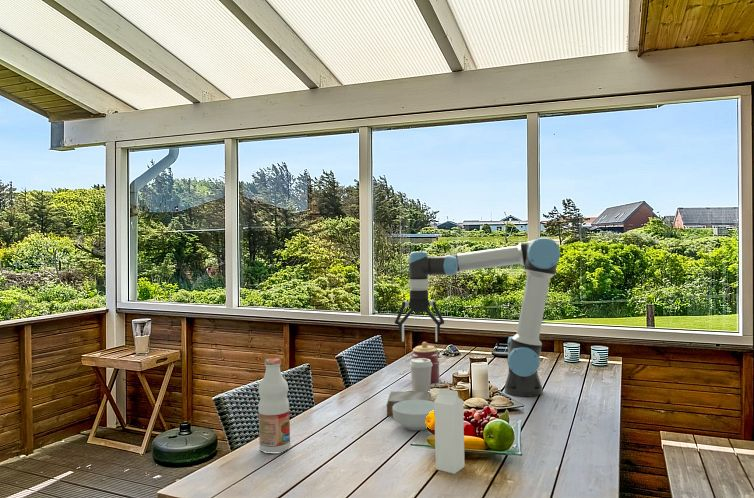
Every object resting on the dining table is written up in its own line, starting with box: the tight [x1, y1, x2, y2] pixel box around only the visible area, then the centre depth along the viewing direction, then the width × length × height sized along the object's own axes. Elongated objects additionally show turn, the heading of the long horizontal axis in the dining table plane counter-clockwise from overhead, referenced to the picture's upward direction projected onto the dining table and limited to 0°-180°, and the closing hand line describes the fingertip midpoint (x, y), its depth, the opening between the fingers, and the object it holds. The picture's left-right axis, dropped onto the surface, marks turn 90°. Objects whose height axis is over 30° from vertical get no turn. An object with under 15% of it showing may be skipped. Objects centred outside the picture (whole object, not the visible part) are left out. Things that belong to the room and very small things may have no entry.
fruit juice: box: [258, 357, 291, 453], centre depth 172 cm, size 9×9×28 cm
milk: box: [433, 388, 466, 475], centre depth 154 cm, size 6×6×22 cm
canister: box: [410, 341, 440, 384], centre depth 253 cm, size 13×13×18 cm
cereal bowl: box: [392, 400, 434, 431], centre depth 190 cm, size 17×17×7 cm
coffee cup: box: [409, 358, 433, 392], centre depth 226 cm, size 10×10×15 cm
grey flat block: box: [386, 391, 432, 417], centre depth 209 cm, size 16×14×5 cm
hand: (419, 341), depth 226 cm, fingers open, 13 cm apart
